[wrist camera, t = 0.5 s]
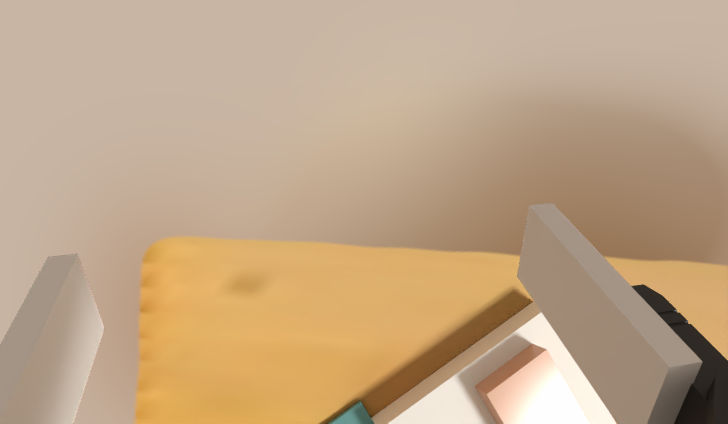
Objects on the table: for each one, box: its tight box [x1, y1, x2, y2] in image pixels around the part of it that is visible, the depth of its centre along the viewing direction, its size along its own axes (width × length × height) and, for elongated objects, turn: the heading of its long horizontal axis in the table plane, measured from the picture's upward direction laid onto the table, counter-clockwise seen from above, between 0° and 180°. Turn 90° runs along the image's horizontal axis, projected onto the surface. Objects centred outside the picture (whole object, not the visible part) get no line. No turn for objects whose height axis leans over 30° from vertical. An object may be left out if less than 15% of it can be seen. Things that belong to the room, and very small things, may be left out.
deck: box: [371, 301, 616, 424], centre depth 52 cm, size 14×20×3 cm
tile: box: [475, 344, 589, 424], centre depth 50 cm, size 10×7×2 cm
